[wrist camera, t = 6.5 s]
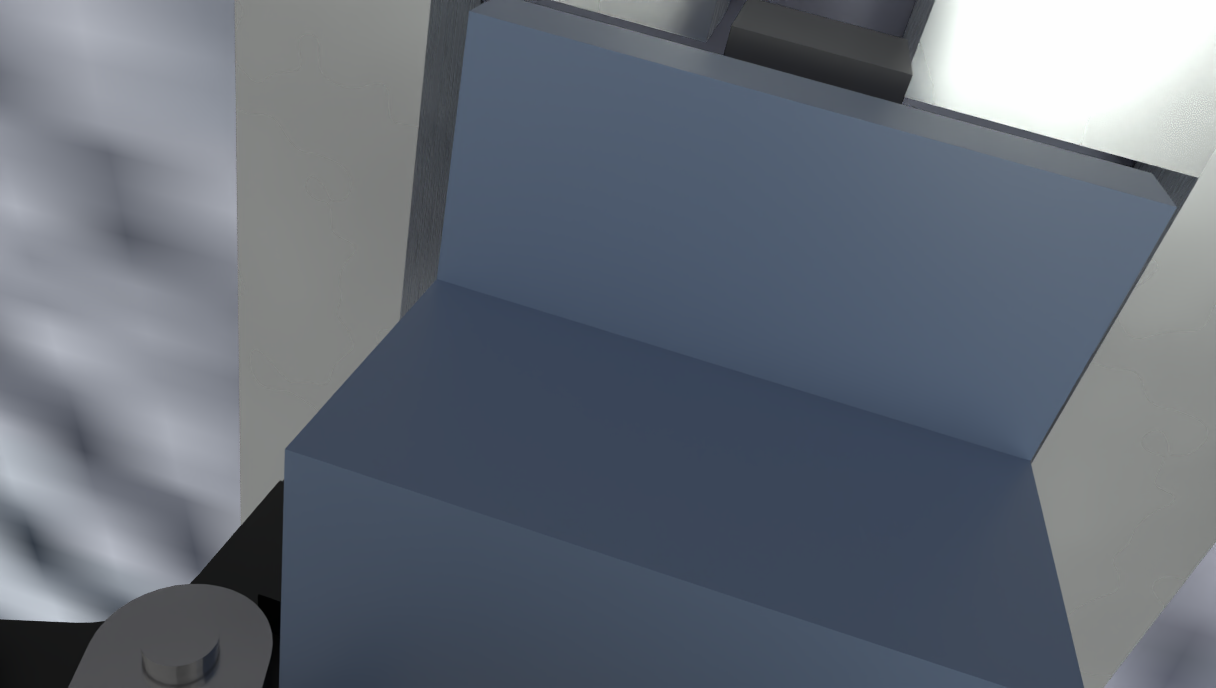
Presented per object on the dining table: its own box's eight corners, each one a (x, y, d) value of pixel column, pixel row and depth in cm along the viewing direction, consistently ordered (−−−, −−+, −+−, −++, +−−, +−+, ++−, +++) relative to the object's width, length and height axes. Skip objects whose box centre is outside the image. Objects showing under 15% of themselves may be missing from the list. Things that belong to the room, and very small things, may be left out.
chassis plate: (321, -451, 12) (229, -491, 10) (1600, -153, 10) (1742, -141, 9) (293, 499, 20) (241, 563, 19) (987, 731, 19) (998, 824, 17)
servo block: (580, -50, 8) (291, 106, 4) (1088, 85, 8) (1327, 408, 4) (446, 711, 14) (269, 1094, 10) (733, 812, 14) (674, 1255, 10)
